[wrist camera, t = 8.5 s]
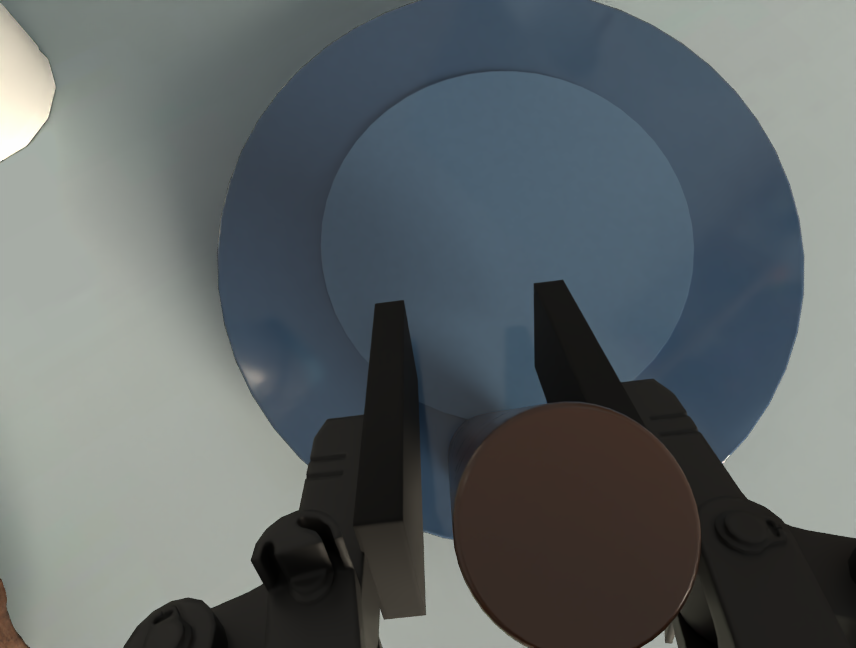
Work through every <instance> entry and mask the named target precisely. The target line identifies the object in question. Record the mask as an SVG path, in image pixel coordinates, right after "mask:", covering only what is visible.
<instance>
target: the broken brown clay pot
mask: <svg viewBox="0 0 856 648" xmlns="http://www.w3.org/2000/svg"><path fill="white" fill-rule="evenodd" d="M6 603H7V597H6V592H5V588H4V586H3V582H2V580H1V579H0V648H30V647H28V646H27V645H26V644H25V642H24V641H23V639H22V638H21V636H20V635H19V634H18V633H17V632H16V630H15V629H14V627H13V625H12V622H11V620H10V617H9V614H8V611H7V608H6Z"/></svg>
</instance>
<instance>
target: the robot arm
mask: <svg viewBox="0 0 856 648" xmlns="http://www.w3.org/2000/svg"><path fill="white" fill-rule="evenodd" d="M534 367H535V370H536V372H537V375H538V378H539V381H540V384H541V387H542V390H543V392H544V395H545V398H546V401H547V403H554V402H563V401H568V402H584V403H591V404H596V405H600V406H603V407H607V408H610V409H612V410H615V411H617V412H619V413H622V414H624V415H626V416H628V417H629V418H631V419H633V420H635V421H636V422H638V423H639V424H641V425H642V426H643V427H645V428H646V429H647V430H649V431H650V432H651V433H652V434H653V435H654V436H655V437H657V438H658V439H659V440H660V441H661V442H662V443H663V444H664V445H665V447H666V448H667V449H668V450H669V452H670V453H671V454H672V455H673V457H674V458H675V459H676V461H677V463H678V464H679V466H680V467H681V469H682V471H683V472H684V474H685V476H686V479H687V481H688V483H689V485H690V487H691V490H692V493H693V496H694V499H695V502H696V505H697V510H698V515H699V519H700V529H701V554H700V561H699V566H698V572H697V575H696V578H695V581H694V584H693V588H692V590H691V592H690V594H689V596H688V598H687V600H686V602H685V604H684V606H683V607H682V609H681V610H680V612H679V613H678V615H677V616H676V618H675V619H674V620H673V621H672V622H671V623H670V624H669V626H668V627H667V628H666V629H665V643H672V642H673V639H674V635H675V637H676V641H677V645H678V648H856V538H850V537H844V536H838V535H832V534H826V533H820V532H814V531H808V530H804V529H800V528H796V527H792V526H789V525H787V524H785V523H784V522H783V521H782V519H780V518H779V517H778V516H776V515H775V514H774V513H772V512H771V511H770V510H768V509H767V508H766V507H764V506H762V505H759V504H757V503H755V502H753V501H750V500H748V499H747V498H746V497H745V496H744V494H743V493H742V492H741V491H740V489H739V488H738V486H737V485H736V483H735V482H734V480H733V479H732V477H731V476H730V475H729V473H728V472H727V470H726V469H725V467H724V466H723V464H722V463H721V461H720V460H719V458H718V457H717V455H716V454H715V453H714V451H713V450H712V448H711V447H710V445H709V444H708V442H707V441H706V439H705V438H704V436H703V435H702V433H701V432H698V428H697V426H696V425H695V423H694V422H693V420H692V419H691V417H690V416H688V415H687V411H686V410H685V409H684V407H683V406H682V404H681V403H680V401H679V400H678V398H677V397H676V395H675V394H674V393H673V392H671V391H670V390H669V389H667V388H666V387H664V386H663V385H662V384H660V383H659V382H657V381H656V380H655V379H644V380H636V381H628V382H620V380H619V378H618V376H617V375H616V373H615V371H614V369H613V367H612V366H611V364H610V362H609V360H608V359H607V357H606V355H605V353H604V351H603V350H602V348H601V346H600V344H599V343H598V341H597V339H596V337H595V335H594V334H593V332H592V330H591V328H590V327H589V325H588V323H587V321H586V319H585V318H584V316H583V314H582V312H581V311H580V309H579V307H578V305H577V303H576V302H575V300H574V298H573V296H572V295H571V293H570V291H569V289H568V287H567V286H566V284H565V282H564V280H556V281H548V282H540V283H534ZM306 475H307V479H305V484H304V489H303V493H302V498H301V503H300V508H299V511H295V512H293V513H290V514H288V515H286V516H283V517H281V518H280V519H278V520H277V521H276V522H275V523H273V524H272V525H271V526H270V527H268V528H267V529H266V530H265V532H264V533H263V534H262V536H261V537H260V539H259V540H258V541H257V543H256V545H255V548H254V551H253V555H252V558H251V562H252V564H253V566H254V567H255V569H256V571H257V573H258V575H259V576H260V578H261V580H262V582H263V584H262V585H261V586H259V587H257V588H255V589H253V590H251V591H250V592H248V593H245V594H243V595H241V596H239V597H236V598H234V599H232V600H229V601H227V602H225V603H222V604H220V605H218V606H216V607H213V608H210V607H209V606H207V605H206V604H205V603H204V602H203V601H202V600H197V599H192V598H184V599H180V600H175V601H171V602H169V603H167V604H166V605H164V606H162V607H160V608H158V609H157V610H155V611H153V612H152V613H151V614H150V615H149V616H148V617H147V618H146V619H145V620H144V621H143V622H141V623H140V624H139V625H138V626H137V627H136V629H135V630H134V632H133V633H132V635H131V636H130V638H129V639H128V641H127V642H126V644H125V646H124V648H382V645H381V642H380V639H379V615H380V609H381V612H382V615H383V618H384V619H393V618H403V617H412V616H422V615H426V605H425V575H424V545H423V515H422V485H421V455H420V425H419V395H418V378H417V372H416V366H415V361H414V355H413V349H412V344H411V338H410V332H409V326H408V321H407V315H406V309H405V304H404V300H399V301H391V302H384V303H376V304H375V308H374V318H373V328H372V338H371V348H370V358H369V368H368V378H367V388H366V398H365V408H364V415H356V416H348V417H340V418H331V419H327V420H326V421H325V423H324V424H323V426H322V427H321V429H320V430H319V431H318V433H317V434H316V436H315V437H314V441H313V445H312V450H311V455H310V462H309V465H308V469H307V474H306Z"/></svg>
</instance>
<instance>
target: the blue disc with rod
mask: <svg viewBox="0 0 856 648" xmlns="http://www.w3.org/2000/svg"><path fill="white" fill-rule="evenodd" d="M217 264H218V290H219V296H220V302H221V308H222V313H223V319H224V325H225V329H226V332H227V335H228V338H229V341H230V344H231V348H232V351H233V354H234V357H235V360H236V363H237V365H238V367H239V369H240V371H241V373H242V375H243V377H244V379H245V382H246V384H247V386H248V388H249V390H250V392H251V394H252V396H253V398H254V399H255V401H256V402H257V404H258V405H259V407H260V408H261V410H262V411H263V413H264V414H265V416H266V417H267V419H268V421H269V422H270V424H271V425H272V427H273V428H274V429H275V430H276V432H277V433H278V434H279V435H280V436H281V437H282V438H283V440H284V441H285V442H286V443H287V444H288V445H289V446H290V448H291V449H292V450H293V451H294V452H295V453H296V454H297V456H298V457H299V458H300V459H301V460H302V461H303V462H305V463H306V464H307V465H309V462H310V455H311V450H312V445H313V441H314V437H315V436H316V434H317V433H318V431H319V430H320V429H321V427H322V426H323V424H324V423H325V421H326V420H327V419H331V418H340V417H348V416H356V415H364V408H365V398H366V388H367V378H368V368H369V358H370V348H371V338H372V328H373V318H374V308H375V304H376V303H384V302H391V301H399V300H404V304H405V309H406V315H407V321H408V326H409V332H410V338H411V344H412V349H413V355H414V361H415V366H416V372H417V378H418V395H419V425H420V455H421V485H422V515H423V532H425V533H429V534H432V535H435V536H438V537H441V538H446V539H451V540H454V548H455V552H456V556H457V560H458V564H459V567H460V570H461V572H462V575H463V578H464V580H465V582H466V584H467V586H468V588H469V590H470V592H471V594H472V596H473V597H474V599H475V600H476V602H477V603H478V604H479V606H480V607H481V609H482V610H483V611H484V613H485V614H486V615H487V616H488V617H489V618H490V619H491V620H492V621H493V623H494V624H495V625H497V626H498V627H499V628H500V629H501V630H502V631H503V632H505V633H506V634H507V635H508V636H510V637H511V638H513V639H514V640H516V641H517V642H519V643H520V644H522V645H524V646H526V647H528V648H641V647H642V646H644V645H645V644H647V643H649V642H650V641H652V640H653V639H654V638H656V637H657V636H658V635H659V634H660V633H662V632H663V631H664V630H665V629H666V628H667V627H668V626H669V624H670V623H671V622H672V621H673V620H674V619H675V618H676V616H677V615H678V613H679V612H680V610H681V609H682V607H683V606H684V604H685V602H686V600H687V598H688V596H689V594H690V592H691V590H692V588H693V584H694V581H695V578H696V575H697V572H698V566H699V561H700V554H701V529H700V519H699V515H698V510H697V505H696V502H695V499H694V496H693V493H692V490H691V487H690V485H689V483H688V481H687V479H686V476H685V474H684V472H683V471H682V469H681V467H680V466H679V464H678V463H677V461H676V459H675V458H674V457H673V455H672V454H671V453H670V452H669V450H668V449H667V448H666V447H665V445H664V444H663V443H662V442H661V441H660V440H659V439H658V438H657V437H655V436H654V435H653V434H652V433H651V432H650V431H649V430H647V429H646V428H645V427H643V426H642V425H641V424H639V423H638V422H636V421H635V420H633V419H631V418H629V417H628V416H626V415H624V414H622V413H619V412H617V411H615V410H612V409H610V408H607V407H603V406H600V405H596V404H591V403H584V402H568V401H563V402H554V403H547V401H546V398H545V395H544V392H543V390H542V387H541V384H540V381H539V378H538V375H537V372H536V370H535V367H534V283H540V282H548V281H556V280H564V282H565V284H566V286H567V287H568V289H569V291H570V293H571V295H572V296H573V298H574V300H575V302H576V303H577V305H578V307H579V309H580V311H581V312H582V314H583V316H584V318H585V319H586V321H587V323H588V325H589V327H590V328H591V330H592V332H593V334H594V335H595V337H596V339H597V341H598V343H599V344H600V346H601V348H602V350H603V351H604V353H605V355H606V357H607V359H608V360H609V362H610V364H611V366H612V367H613V369H614V371H615V373H616V375H617V376H618V378H619V380H620V382H628V381H636V380H644V379H655V380H656V381H657V382H659V383H660V384H662V385H663V386H664V387H666V388H667V389H669V390H670V391H671V392H673V393H674V394H675V395H676V397H677V398H678V400H679V401H680V403H681V404H682V406H683V407H684V409H685V410H686V411H687V415H688V416H690V417H691V419H692V420H693V422H694V423H695V425H696V426H697V428H698V432H701V433H702V435H703V436H704V438H705V439H706V441H707V442H708V444H709V445H710V447H711V448H712V450H713V451H714V453H715V454H716V455H717V457H718V458H719V460H720V461H721V463H722V464H723V463H724V462H725V461H726V460H727V458H728V457H729V456H730V455H731V454H732V453H733V452H734V451H735V450H736V449H737V448H738V446H739V445H740V444H741V443H742V442H743V441H744V440H745V439H746V438H747V436H748V435H749V433H750V432H751V431H752V429H753V428H754V426H755V425H756V423H757V422H758V420H759V419H760V417H761V416H762V414H763V413H764V411H765V410H766V408H767V407H768V405H769V404H770V402H771V400H772V398H773V396H774V393H775V391H776V389H777V387H778V385H779V383H780V381H781V379H782V377H783V375H784V373H785V371H786V368H787V365H788V362H789V359H790V355H791V352H792V349H793V346H794V343H795V339H796V336H797V333H798V327H799V321H800V315H801V309H802V302H803V296H804V251H803V243H802V235H801V228H800V220H799V216H798V213H797V209H796V205H795V201H794V198H793V194H792V190H791V187H790V184H789V181H788V179H787V176H786V174H785V172H784V169H783V167H782V164H781V162H780V160H779V157H778V155H777V153H776V150H775V149H774V147H773V145H772V144H771V142H770V140H769V138H768V137H767V135H766V133H765V132H764V130H763V128H762V126H761V125H760V123H759V121H758V120H757V118H756V117H755V116H754V114H753V113H752V112H751V110H750V109H749V108H748V107H747V105H746V104H745V103H744V101H743V100H742V99H741V97H740V96H739V95H738V94H737V92H736V91H735V90H734V89H733V88H732V87H731V86H730V85H729V84H728V83H727V82H726V81H725V80H724V79H723V78H722V77H721V76H720V75H719V74H718V73H717V72H716V71H715V70H714V69H713V68H712V67H711V66H710V65H709V64H708V63H706V62H705V61H704V60H703V59H701V58H700V57H699V56H698V55H696V54H695V53H694V52H693V51H691V50H690V49H689V48H688V47H686V46H685V45H684V44H683V43H681V42H679V41H678V40H676V39H674V38H673V37H671V36H670V35H668V34H666V33H665V32H663V31H662V30H660V29H658V28H657V27H655V26H653V25H652V24H649V23H647V22H645V21H643V20H641V19H639V18H637V17H634V16H632V15H630V14H628V13H626V12H624V11H622V10H619V9H616V8H613V7H610V6H607V5H604V4H601V3H598V2H595V1H592V0H419V1H415V2H413V3H410V4H407V5H404V6H402V7H399V8H396V9H394V10H391V11H388V12H385V13H383V14H381V15H379V16H377V17H375V18H373V19H371V20H369V21H367V22H365V23H363V24H361V25H359V26H357V27H355V28H354V29H352V30H351V31H349V32H348V33H346V34H345V35H343V36H342V37H340V38H339V39H337V40H336V41H334V42H333V43H331V44H329V45H328V46H327V47H325V48H324V49H323V50H322V51H321V52H319V53H318V54H317V55H316V56H315V57H313V58H312V59H311V60H310V61H309V62H308V63H306V64H305V65H304V66H303V67H302V68H301V69H300V70H299V71H298V72H297V73H296V74H295V75H294V76H293V77H292V78H291V79H290V80H289V81H288V83H287V84H286V85H285V86H284V87H283V88H282V89H281V90H280V91H279V92H278V93H277V95H276V96H275V98H274V99H273V100H272V102H271V103H270V105H269V106H268V107H267V109H266V110H265V111H264V113H263V114H262V116H261V117H260V118H259V120H258V121H257V123H256V125H255V127H254V129H253V131H252V132H251V134H250V136H249V138H248V140H247V142H246V143H245V145H244V147H243V149H242V151H241V153H240V156H239V159H238V161H237V164H236V166H235V169H234V172H233V174H232V177H231V179H230V182H229V185H228V189H227V194H226V198H225V202H224V206H223V210H222V214H221V220H220V230H219V239H218V249H217Z"/></svg>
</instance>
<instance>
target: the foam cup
mask: <svg viewBox="0 0 856 648" xmlns="http://www.w3.org/2000/svg"><path fill="white" fill-rule="evenodd" d="M55 88H56V86H55V82H54V78H53V75H52V71H51V67H50V64H49V60H48V58H47V57H46V56H45V55H44V54H43V53H42V52H40V51H39V48H38V46H37V45H36V43H35V42H34V41H33V40H32V39H31V38H30V36H29V35H28V34H27V33H26V32H25V31H24V29H23V28H22V27H21V26H20V25H19V23H18V22H17V21H16V20H15V19H14V18H13V16H12V15H11V14H10V13H9V12H8V11H7V9H6V8H5V7H4V6H3V5H2V4H1V2H0V161H2V160H3V159H5V158H7V157H8V156H10V155H12V154H14V153H15V152H17V151H19V150H20V149H22V148H24V147H25V146H27V145H28V143H29V142H30V141H31V139H32V138H33V137H34V136H35V134H36V133H37V132H38V130H39V129H40V128H41V127H42V125H43V124H44V123H45V121H46V120H47V119H48V117H49V113H50V108H51V104H52V100H53V96H54V92H55Z"/></svg>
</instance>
